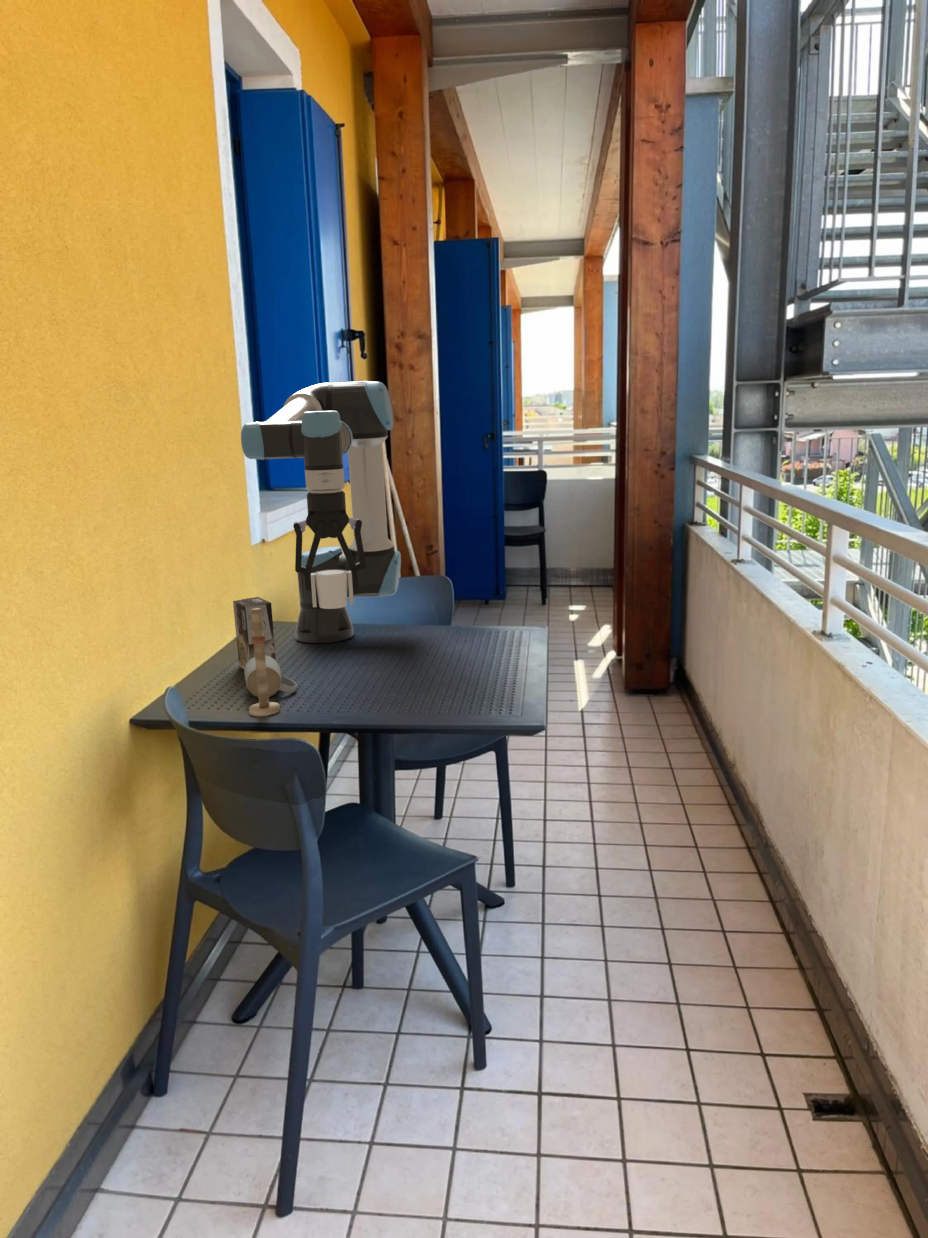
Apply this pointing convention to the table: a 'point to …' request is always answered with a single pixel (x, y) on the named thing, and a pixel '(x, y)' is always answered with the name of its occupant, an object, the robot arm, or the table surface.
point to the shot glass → (332, 588)
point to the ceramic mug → (268, 678)
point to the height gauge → (261, 669)
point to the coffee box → (245, 628)
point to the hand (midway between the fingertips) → (333, 604)
